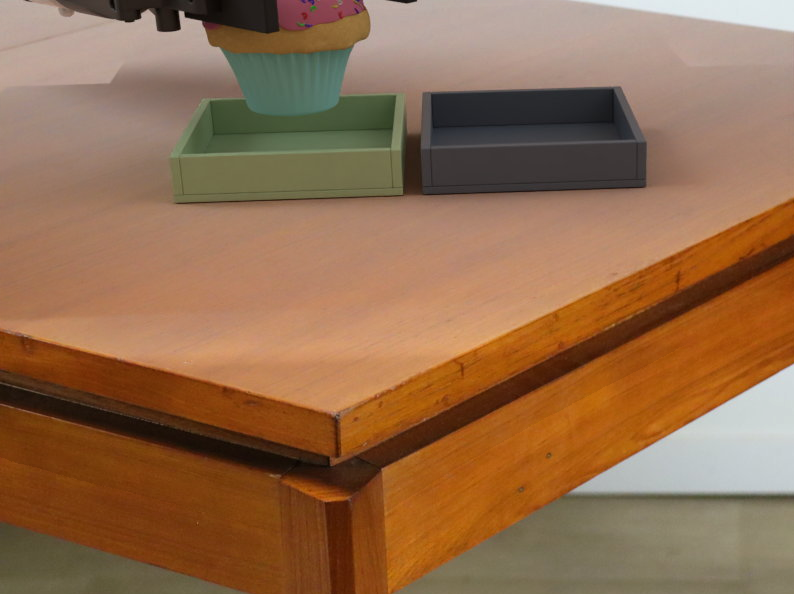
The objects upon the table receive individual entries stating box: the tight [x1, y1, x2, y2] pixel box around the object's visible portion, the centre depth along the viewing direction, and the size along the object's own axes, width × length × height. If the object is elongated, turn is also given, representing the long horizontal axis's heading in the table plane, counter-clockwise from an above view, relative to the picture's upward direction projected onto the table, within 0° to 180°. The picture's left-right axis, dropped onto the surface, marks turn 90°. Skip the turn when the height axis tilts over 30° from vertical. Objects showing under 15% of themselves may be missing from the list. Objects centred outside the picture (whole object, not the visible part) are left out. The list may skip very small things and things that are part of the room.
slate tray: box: [420, 85, 648, 195], centre depth 83 cm, size 12×12×2 cm
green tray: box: [168, 92, 408, 204], centre depth 82 cm, size 12×12×2 cm
